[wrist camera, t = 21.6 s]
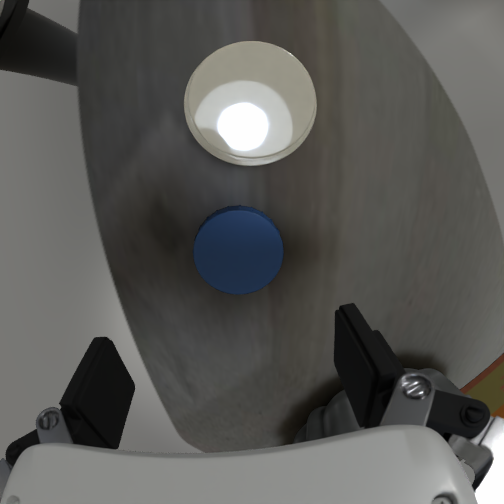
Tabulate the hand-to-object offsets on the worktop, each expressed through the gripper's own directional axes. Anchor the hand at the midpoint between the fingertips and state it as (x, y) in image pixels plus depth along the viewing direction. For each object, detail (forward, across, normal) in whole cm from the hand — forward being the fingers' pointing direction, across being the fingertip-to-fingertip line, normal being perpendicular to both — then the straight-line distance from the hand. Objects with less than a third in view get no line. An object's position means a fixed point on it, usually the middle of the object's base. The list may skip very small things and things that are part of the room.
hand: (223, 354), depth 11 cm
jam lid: (+12, -1, +1) cm, 12 cm away
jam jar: (+14, -3, -9) cm, 17 cm away
